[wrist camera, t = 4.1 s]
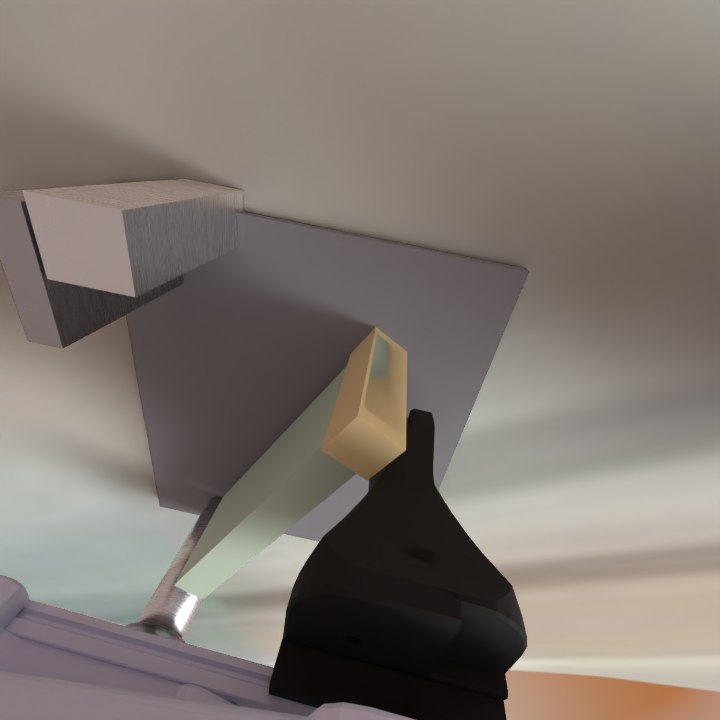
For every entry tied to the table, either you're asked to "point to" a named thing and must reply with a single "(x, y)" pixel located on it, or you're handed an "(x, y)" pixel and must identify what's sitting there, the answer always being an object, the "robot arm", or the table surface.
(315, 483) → the pale green flat block
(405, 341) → the mat
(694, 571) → the table surface
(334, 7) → the table surface
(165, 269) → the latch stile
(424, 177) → the table surface
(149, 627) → the hinge post
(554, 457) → the table surface
